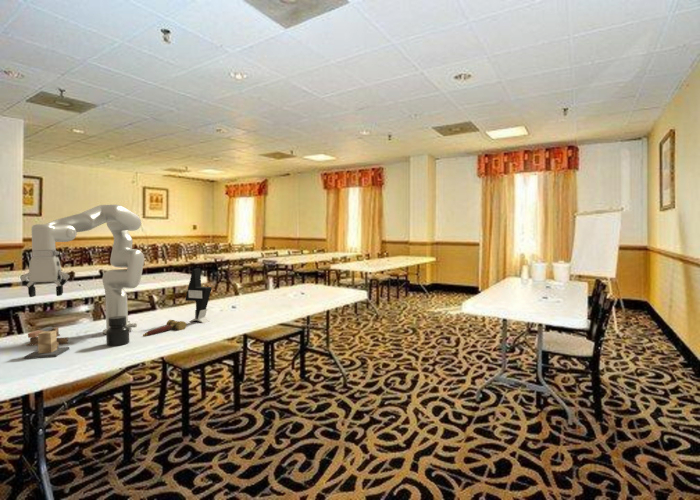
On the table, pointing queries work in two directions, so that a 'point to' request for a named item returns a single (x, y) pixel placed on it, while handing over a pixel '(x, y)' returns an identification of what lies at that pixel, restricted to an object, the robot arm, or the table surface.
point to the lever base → (35, 339)
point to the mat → (43, 355)
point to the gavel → (167, 327)
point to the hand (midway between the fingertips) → (46, 296)
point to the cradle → (62, 341)
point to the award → (198, 296)
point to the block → (47, 341)
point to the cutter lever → (35, 333)
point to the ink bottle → (117, 331)
